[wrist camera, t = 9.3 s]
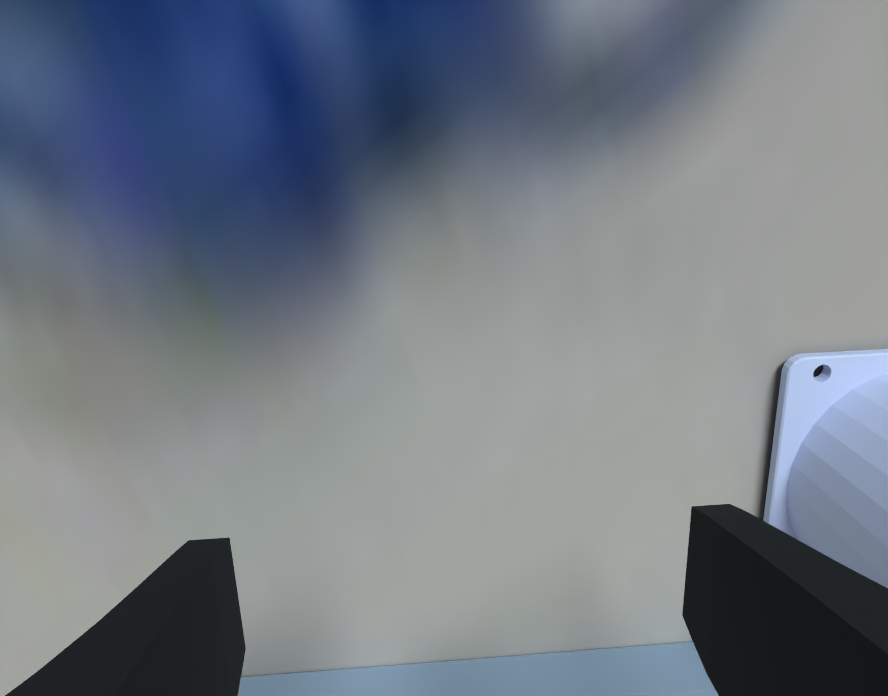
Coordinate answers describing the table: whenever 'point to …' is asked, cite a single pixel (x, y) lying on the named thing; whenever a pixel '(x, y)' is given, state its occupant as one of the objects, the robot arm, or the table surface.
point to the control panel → (510, 676)
